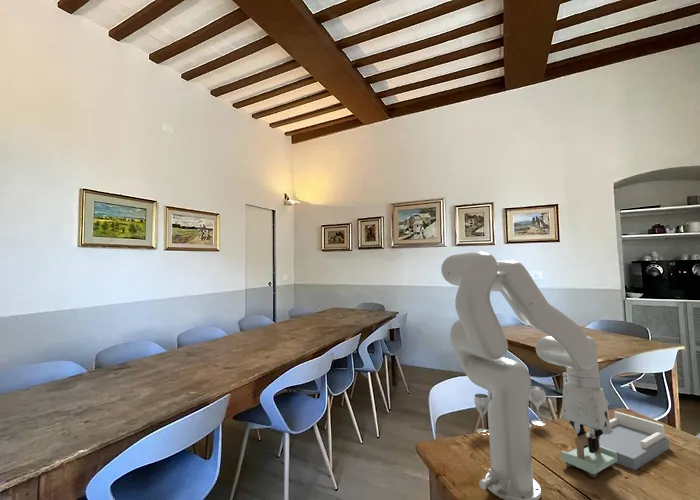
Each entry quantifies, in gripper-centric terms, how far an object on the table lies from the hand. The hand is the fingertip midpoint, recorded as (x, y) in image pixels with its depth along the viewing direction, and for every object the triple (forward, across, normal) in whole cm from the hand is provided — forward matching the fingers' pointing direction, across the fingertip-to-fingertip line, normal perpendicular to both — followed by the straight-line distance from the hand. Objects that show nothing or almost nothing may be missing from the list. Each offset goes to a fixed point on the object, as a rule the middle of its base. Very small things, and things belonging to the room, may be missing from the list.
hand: (588, 449), depth 93 cm
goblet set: (+5, -27, +4) cm, 27 cm away
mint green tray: (+5, 0, 0) cm, 5 cm away
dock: (+5, 0, +19) cm, 20 cm away
